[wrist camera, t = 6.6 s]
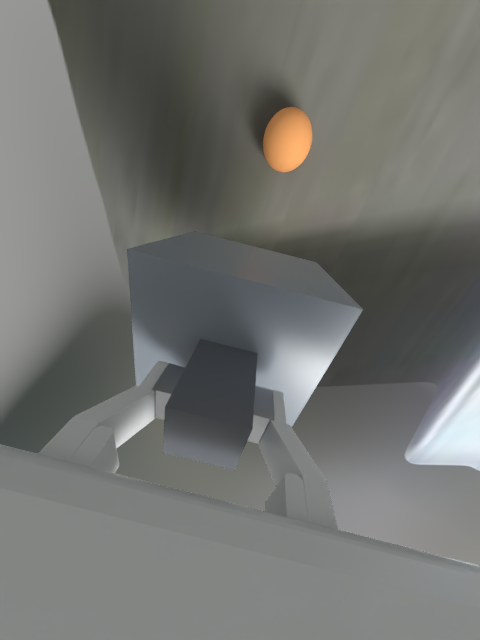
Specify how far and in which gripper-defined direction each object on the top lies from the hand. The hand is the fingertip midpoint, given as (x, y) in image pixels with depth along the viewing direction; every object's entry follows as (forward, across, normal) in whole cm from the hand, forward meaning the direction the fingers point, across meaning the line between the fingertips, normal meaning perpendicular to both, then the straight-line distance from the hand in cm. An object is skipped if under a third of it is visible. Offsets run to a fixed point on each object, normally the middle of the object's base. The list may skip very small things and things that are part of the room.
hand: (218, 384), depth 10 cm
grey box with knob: (+10, 0, 0) cm, 10 cm away
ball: (+21, 0, -14) cm, 25 cm away
